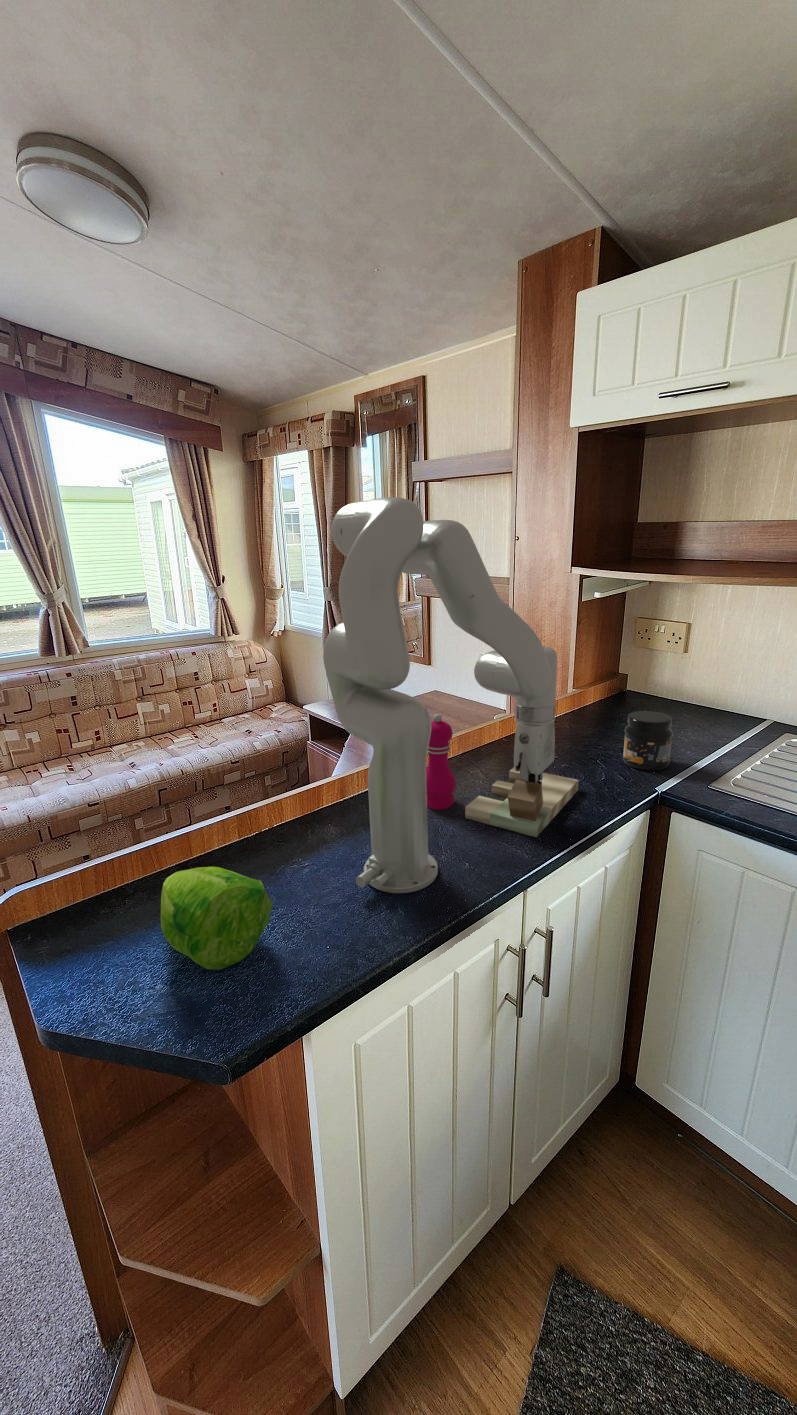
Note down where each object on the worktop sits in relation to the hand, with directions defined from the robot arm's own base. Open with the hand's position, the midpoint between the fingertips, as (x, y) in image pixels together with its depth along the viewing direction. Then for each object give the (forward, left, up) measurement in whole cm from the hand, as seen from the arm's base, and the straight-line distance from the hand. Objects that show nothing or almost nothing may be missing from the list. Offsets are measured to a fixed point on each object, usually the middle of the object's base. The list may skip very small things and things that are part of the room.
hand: (532, 799), depth 114 cm
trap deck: (+5, +4, -4) cm, 7 cm away
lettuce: (-59, +24, -4) cm, 64 cm away
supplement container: (+40, -13, -4) cm, 42 cm away
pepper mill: (-4, +19, -4) cm, 20 cm away
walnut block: (-4, 0, 0) cm, 4 cm away
